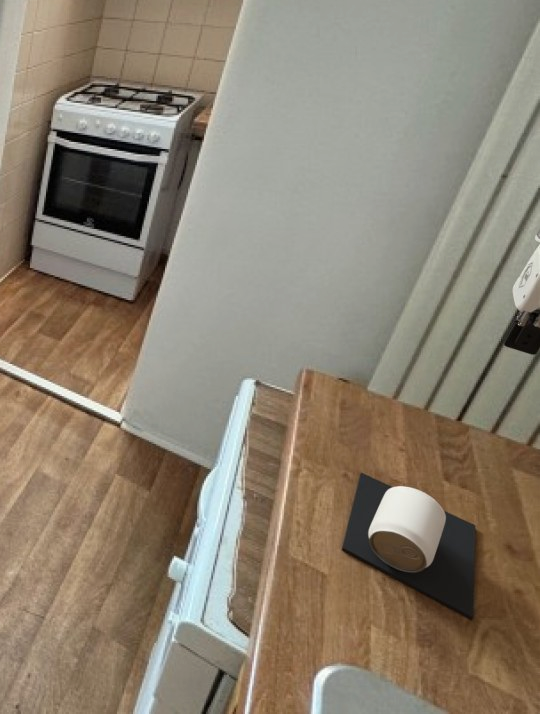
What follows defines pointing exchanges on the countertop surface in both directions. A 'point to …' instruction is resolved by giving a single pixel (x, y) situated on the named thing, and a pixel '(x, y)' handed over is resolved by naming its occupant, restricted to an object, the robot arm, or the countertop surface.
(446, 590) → the mat
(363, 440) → the countertop surface
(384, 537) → the can
